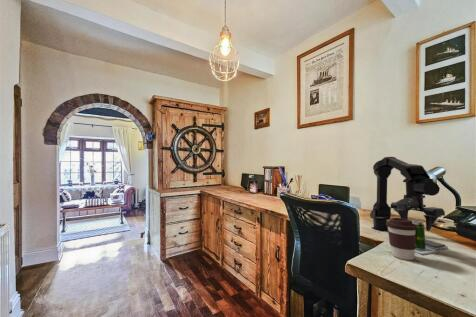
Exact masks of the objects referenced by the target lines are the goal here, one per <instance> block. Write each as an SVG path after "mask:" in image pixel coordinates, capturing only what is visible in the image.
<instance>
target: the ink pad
mask: <svg viewBox="0 0 476 317" xmlns="http://www.w3.org/2000/svg"><path fill="white" fill-rule="evenodd" d="M425 245H426V247H427V248H430V249H433V250H436V251H440V250H441V251H442V250H447V249H448V248H449V246H448V245H446V244H443V243H440V242H436V241H433V240H430V239H427V238H425Z"/></svg>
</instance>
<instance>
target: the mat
mask: <svg viewBox="0 0 476 317" xmlns="http://www.w3.org/2000/svg"><path fill="white" fill-rule="evenodd" d="M437 253H439V254H440V250H433V249H430V248H427V247H426V249H425V250H416V249H415V254H418V255H419V256H425V255H432V254H437Z"/></svg>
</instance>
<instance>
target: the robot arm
mask: <svg viewBox="0 0 476 317" xmlns="http://www.w3.org/2000/svg"><path fill="white" fill-rule="evenodd" d="M372 169H373V174H374V175H375V177H376V201H375V202H374V204H373V206H372V210H371V211H370V214H369V216H370V218H371V219H372V220H373V221H372V222H373V226H371V229H374V230H377V231H380V232H385V231H387V232H388V230H389V229H388V226H387V225H386V222H387V221H390V219H391V215H392V211H391V210H392V209H393V211H395V212H396V213H398V216H400V217H399V218H403V219H408V217H409V211H416V212H420V213H421V212H422V213H424V215H423V217H424V218H425V229H426V230H425V231H426V232H429V231H431V230H432V227H433V225H434V223H435V222H436V220H438V218H442V217H443V216H446V211H445V210H444V209H443V208H442V207H441V208H440V207H436V206H435V207H434V206H431V207H427V206H426V205H427V204H424V199H425V198H426V196H432V197H433V196H436V195H437V194H439V193H440V189H441V188H440V185H438V184H437V182H435V181H434V178H431V176H430V175H429V174H428V172H427V171H426V169H425V167H424V166H423V165H421V164H415V163H414V164H413V163H408V162H405V161H404V160H401V159H399V158H397V157H396V156H385V157H383V158H382V159H380V160H377V161H376V162H375V163H374V164H373V166H372ZM393 169H395V170H397V171H399V172H400V175H401V176H402V177H404V178H405V179H403V180H402V182H403V183H405V194H403V199H401V198H400V199H399V200H398V201H395V202H394V201H393V202H391V204H390V205H389V204H388V178H389V177H390V175H391V174H392V171H393ZM408 220H409V219H408Z"/></svg>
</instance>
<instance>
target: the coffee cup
mask: <svg viewBox="0 0 476 317" xmlns="http://www.w3.org/2000/svg"><path fill="white" fill-rule="evenodd" d="M411 220H412V219H403V218H401V217H390V220H387V222H386V225H387V226H388V229H389V230H387V232H388V240H389V245H390V251H391V255H392V256H393V257H394V258H397V259H399V260H400V259H401V260H405V261H413V260H415V254H416V253H415V248H416V234H415V230H417V225H415V224H413V223H412V221H411Z"/></svg>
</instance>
